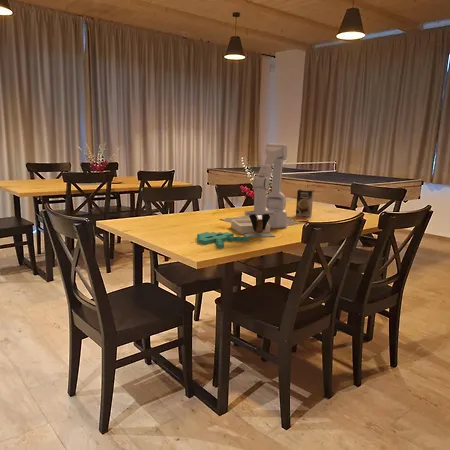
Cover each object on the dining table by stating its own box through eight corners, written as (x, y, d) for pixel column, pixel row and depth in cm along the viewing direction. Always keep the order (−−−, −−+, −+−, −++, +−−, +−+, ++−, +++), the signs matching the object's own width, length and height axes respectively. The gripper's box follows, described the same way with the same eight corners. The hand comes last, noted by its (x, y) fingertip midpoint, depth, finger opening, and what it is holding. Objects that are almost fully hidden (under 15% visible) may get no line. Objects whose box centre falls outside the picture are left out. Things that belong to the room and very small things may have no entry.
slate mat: (269, 233, 204) (269, 232, 204) (274, 236, 197) (274, 235, 197) (242, 234, 200) (242, 233, 200) (247, 237, 194) (247, 237, 193)
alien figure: (248, 241, 189) (215, 234, 201) (248, 236, 188) (215, 229, 201) (220, 249, 174) (187, 241, 186) (220, 244, 173) (187, 236, 185)
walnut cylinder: (261, 231, 201) (261, 219, 200) (264, 232, 197) (264, 220, 196) (253, 231, 200) (253, 219, 199) (256, 232, 196) (256, 220, 195)
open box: (258, 226, 220) (259, 218, 219) (269, 232, 205) (270, 225, 204) (231, 227, 216) (231, 219, 215) (240, 234, 201) (240, 226, 200)
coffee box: (295, 216, 253) (297, 189, 250) (297, 214, 259) (299, 188, 255) (310, 217, 250) (312, 191, 246) (311, 215, 256) (313, 189, 252)
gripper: (248, 203, 190) (247, 232, 192) (277, 203, 194) (276, 231, 196) (243, 201, 196) (242, 229, 199) (271, 200, 200) (270, 228, 203)
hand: (258, 229), depth 198 cm, fingers closed on walnut cylinder, 4 cm apart
